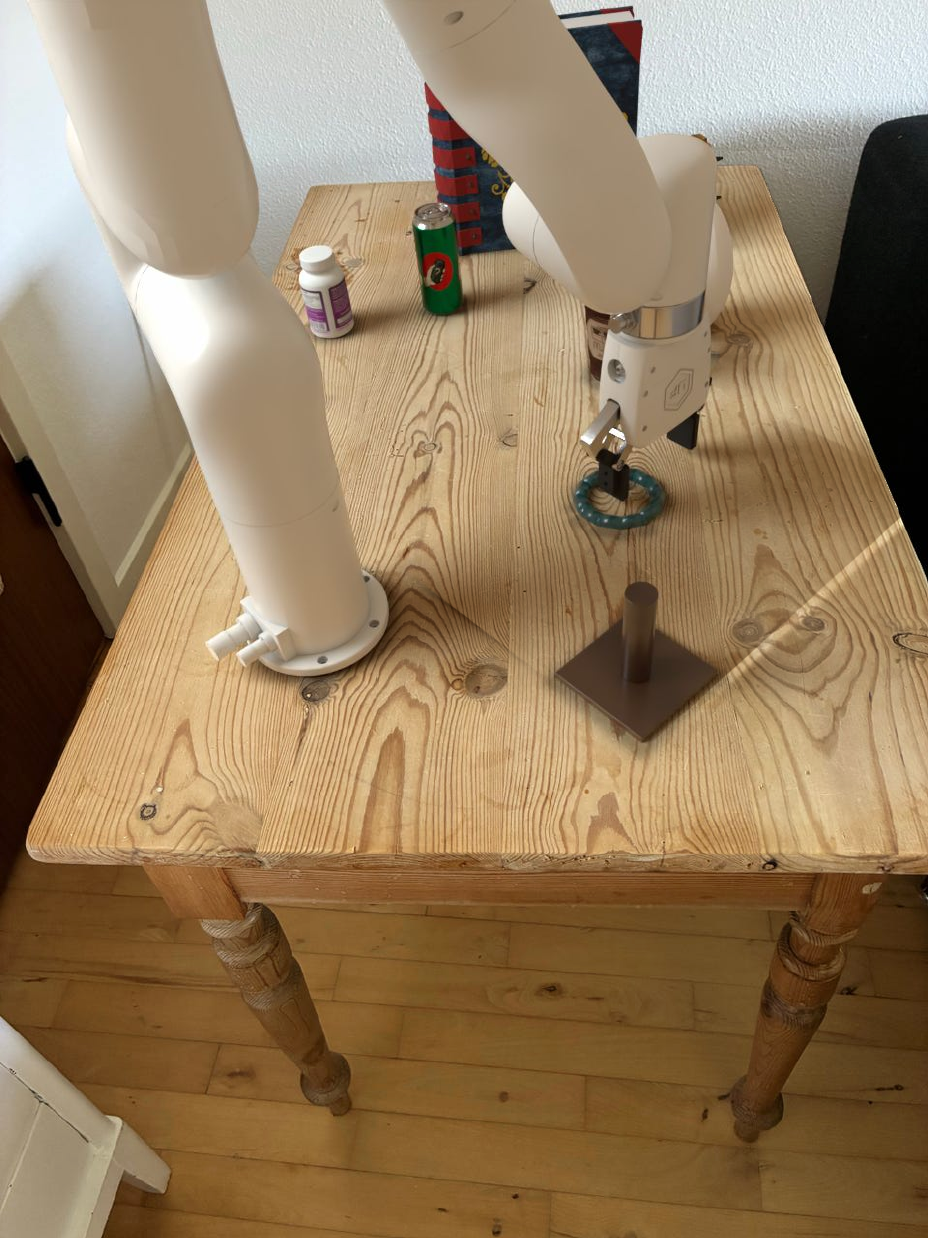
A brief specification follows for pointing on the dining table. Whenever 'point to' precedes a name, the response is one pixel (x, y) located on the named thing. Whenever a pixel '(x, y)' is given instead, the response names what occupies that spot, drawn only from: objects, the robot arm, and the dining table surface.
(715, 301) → the white curved piece
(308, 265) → the pill bottle
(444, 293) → the soda can
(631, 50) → the book
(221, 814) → the dining table surface
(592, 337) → the coffee cup
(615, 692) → the peg stand
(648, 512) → the ring
